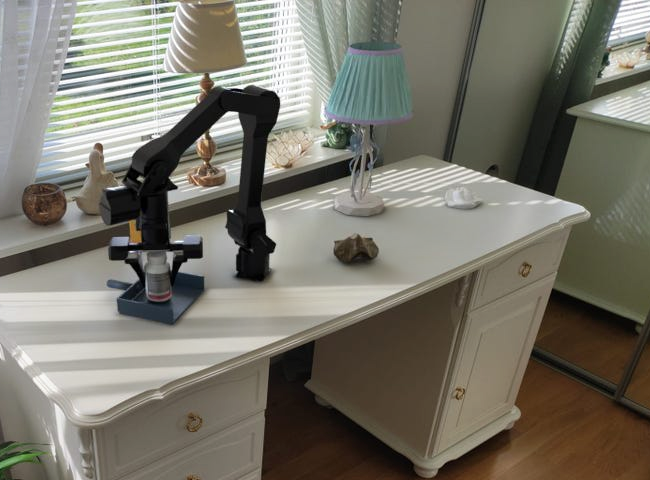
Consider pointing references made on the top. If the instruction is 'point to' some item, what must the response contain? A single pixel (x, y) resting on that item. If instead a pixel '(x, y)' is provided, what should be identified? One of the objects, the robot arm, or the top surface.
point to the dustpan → (166, 311)
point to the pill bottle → (157, 277)
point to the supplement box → (134, 233)
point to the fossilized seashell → (355, 248)
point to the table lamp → (368, 110)
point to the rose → (462, 198)
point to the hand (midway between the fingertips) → (158, 285)
